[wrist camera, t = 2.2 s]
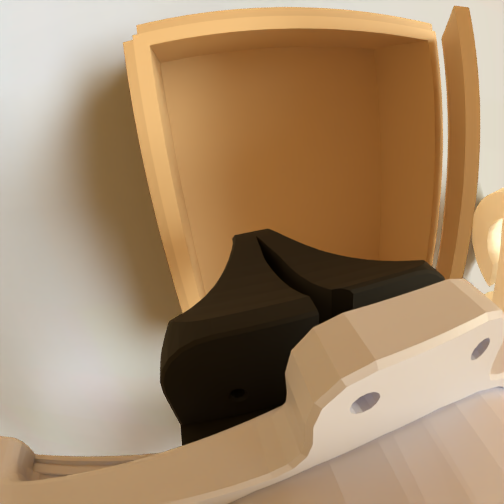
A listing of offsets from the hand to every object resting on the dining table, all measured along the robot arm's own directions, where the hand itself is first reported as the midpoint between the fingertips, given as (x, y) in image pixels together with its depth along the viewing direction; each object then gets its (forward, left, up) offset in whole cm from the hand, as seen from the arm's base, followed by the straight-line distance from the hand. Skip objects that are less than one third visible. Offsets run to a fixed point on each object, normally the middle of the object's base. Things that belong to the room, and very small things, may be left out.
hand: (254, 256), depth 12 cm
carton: (0, -4, -8) cm, 9 cm away
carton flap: (0, -9, +1) cm, 9 cm away
